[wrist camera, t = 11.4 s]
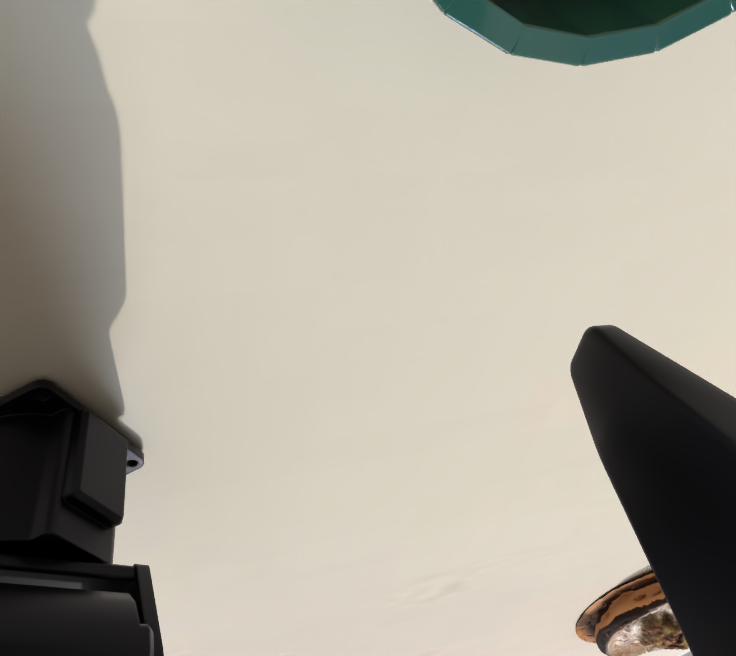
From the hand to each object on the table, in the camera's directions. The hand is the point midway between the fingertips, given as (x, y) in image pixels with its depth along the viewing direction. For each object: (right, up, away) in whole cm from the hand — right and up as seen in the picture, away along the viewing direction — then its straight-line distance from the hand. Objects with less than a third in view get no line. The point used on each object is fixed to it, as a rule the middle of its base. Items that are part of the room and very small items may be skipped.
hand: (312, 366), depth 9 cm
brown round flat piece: (+27, -24, +48) cm, 60 cm away
